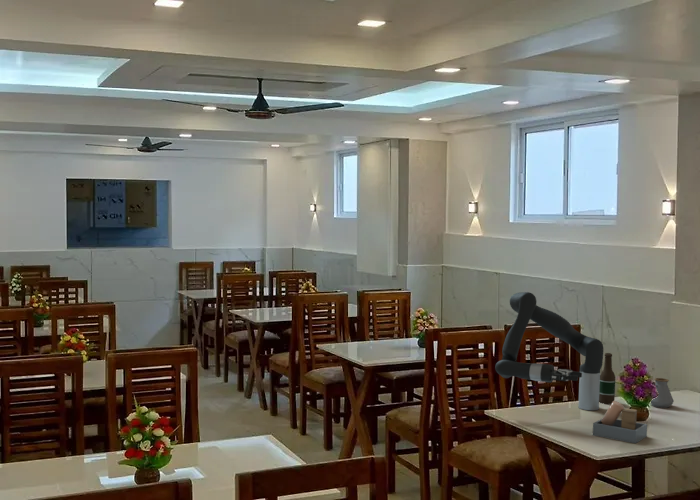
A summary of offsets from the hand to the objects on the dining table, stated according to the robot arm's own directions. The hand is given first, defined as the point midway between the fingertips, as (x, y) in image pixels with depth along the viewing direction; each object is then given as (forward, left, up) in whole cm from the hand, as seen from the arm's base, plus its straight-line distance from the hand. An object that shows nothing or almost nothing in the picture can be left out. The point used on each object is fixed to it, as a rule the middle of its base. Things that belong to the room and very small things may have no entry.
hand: (579, 376), depth 350 cm
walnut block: (+2, +22, -20) cm, 30 cm away
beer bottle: (-54, -7, -22) cm, 58 cm away
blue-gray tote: (+2, +19, -22) cm, 29 cm away
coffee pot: (-61, +13, -22) cm, 66 cm away
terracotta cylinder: (+2, +13, -18) cm, 22 cm away
